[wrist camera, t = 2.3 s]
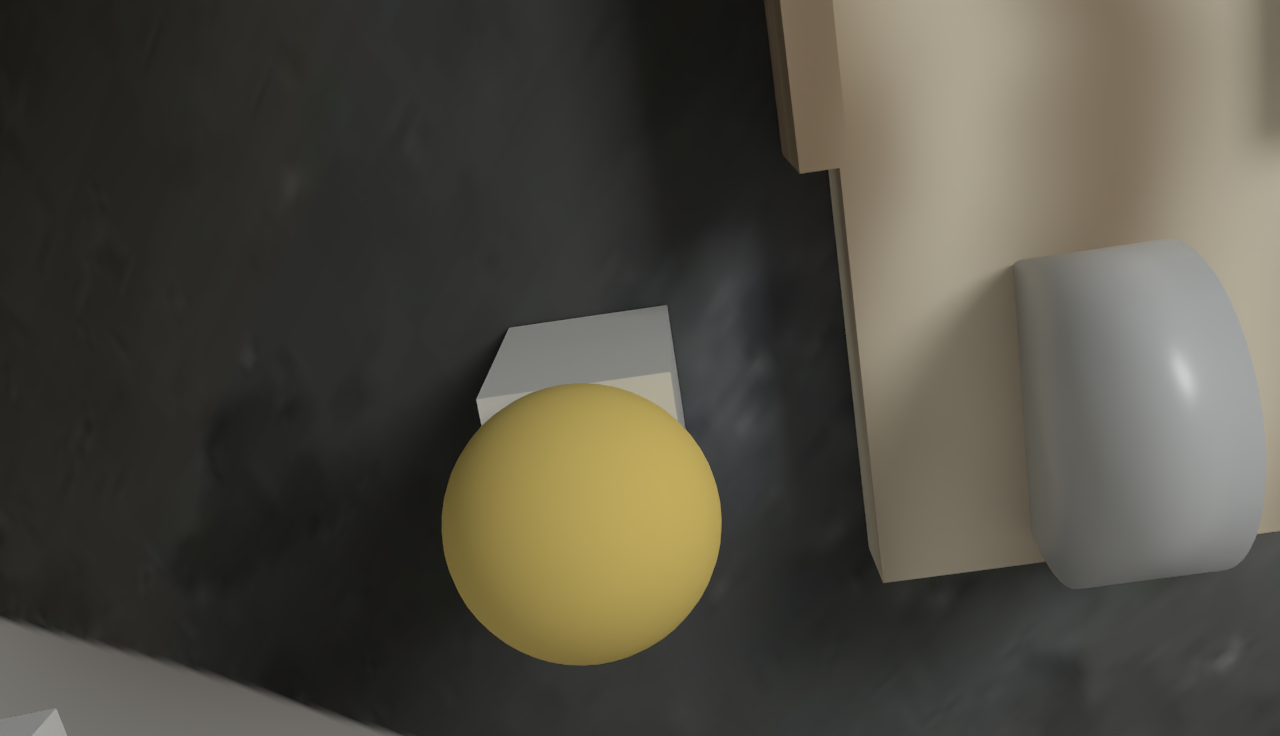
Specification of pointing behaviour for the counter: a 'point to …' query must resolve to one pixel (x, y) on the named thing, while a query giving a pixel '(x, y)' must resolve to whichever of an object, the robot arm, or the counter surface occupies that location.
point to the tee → (587, 359)
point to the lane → (1016, 217)
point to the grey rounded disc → (1137, 415)
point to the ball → (581, 524)
